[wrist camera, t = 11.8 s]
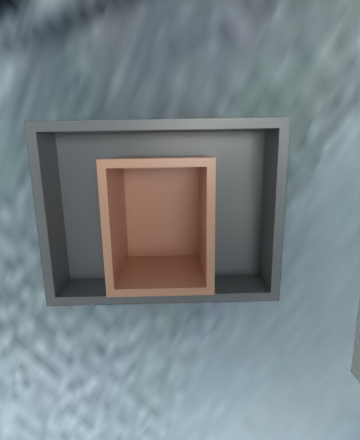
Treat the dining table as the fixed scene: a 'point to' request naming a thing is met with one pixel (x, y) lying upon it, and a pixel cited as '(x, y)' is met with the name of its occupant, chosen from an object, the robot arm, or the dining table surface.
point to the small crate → (158, 225)
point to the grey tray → (160, 146)
